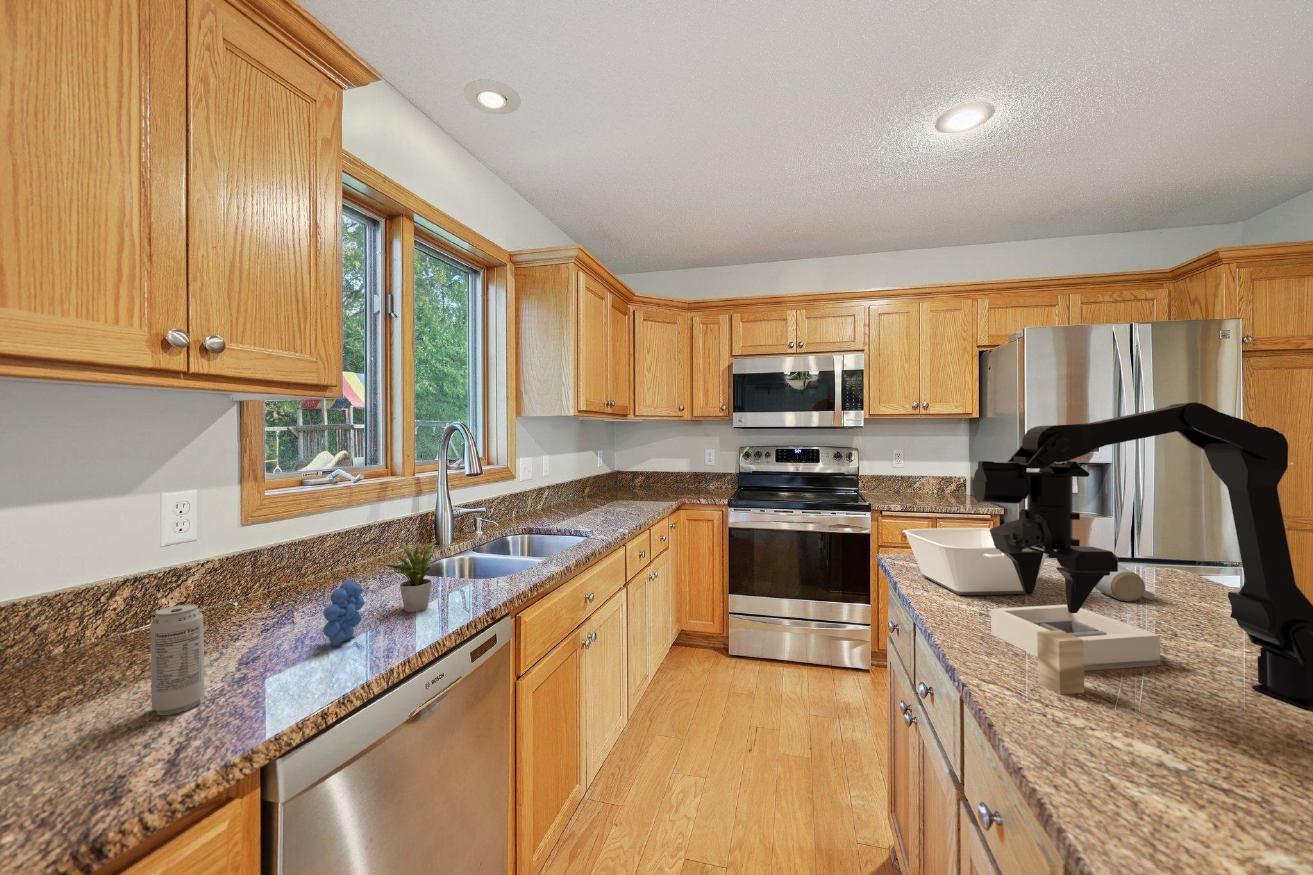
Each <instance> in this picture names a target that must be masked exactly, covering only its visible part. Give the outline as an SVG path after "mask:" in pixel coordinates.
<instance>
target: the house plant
mask: <svg viewBox="0 0 1313 875" xmlns="http://www.w3.org/2000/svg"><path fill="white" fill-rule="evenodd" d="M436 542H437V540H436V541H432V542H429V543H425V545H424V546H423V547H422V548H421V551H420V553H419V547H420V546H419V545H420V544H419V541H417V543H415V544H416V547H415V549H414V548H410V547H409V546H408V545H406V544H404V543H402V545H403V546H402V545H400V547H401V549H403V550H404V552H405V554H406V555H407V557H408V559H409V561H408V560H407V559H406V558H405V557H404V556H402V555H401V554H399V553H397V552H394V551H389V550H386V551H385V552H386V553H387V552H388V555H392V556H395V557H396V558H397V559H398V560H400V561H401V562H402V563H403V565H401V564H395V563H379V565H381V566H385V568H384V570H385V569H389V570H392V571H391V572H389V573H388V574H386V577H389V576H390V575H393V574H396V573H397V574H399V576H400V577H402V578H404V579H405V580H404V581H402V582H400V583H399V588H400V593H401V599H402V604H403V609H404V611H405V612H409V613H412V612H413V613H414V612H420V611H424V610H426V609H427V608H428V607H429V602H430V595H431V589H432V583H433V580H432V579H430V578H425V576H426V575H427V574H428V572H429V571H430V570H432V569H434V568H436V567H438V565H434V564H433V562H430V563H429V561H430V560H431V559H432V557H433V555H434V554H436V552H437V549H435V550H434V551H433V548H435V543H436ZM411 550H412V552H411ZM432 551H433V553H431V552H432ZM389 553H393V554H389ZM409 562H410V563H409ZM430 565H432V567H429V566H430ZM386 567H388V568H386ZM440 567H441V568H443V567H442V565H440ZM403 575H404V576H403Z"/></svg>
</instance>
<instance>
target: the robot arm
mask: <svg viewBox="0 0 1313 875" xmlns="http://www.w3.org/2000/svg"><path fill="white" fill-rule="evenodd" d="M1176 432H1177V433H1178V434H1179V435H1180V436H1182V437H1183V439H1185V440H1186V441H1187V442H1188V443H1190V444H1192V445H1194V446H1195V447H1197V448H1200V449H1201V450H1203V451H1204V453H1205V455H1206V458H1207V461H1208V463H1209V465H1210V468H1211V470H1212V471H1213V472H1214V474H1215V475H1216V476H1217V477H1218V478H1219V479H1220V480H1221V482H1222V483H1223V484H1224V485H1225V486H1226V488H1227V492H1228V496H1229V501H1230V506H1231V507H1230V508H1231V511H1232V512H1231V513H1232V516H1233V517H1232V518H1233V521H1234V527H1235V532H1236V537H1237V543H1238V549H1239V554H1240V559H1241V564H1242V571H1243V575H1244V583H1243V585H1242V587H1241V589H1240V590H1239V592H1235V591H1229V592H1227V598H1228V600H1229V603H1230V606H1231V612H1230V616H1229V617H1230V618H1232V619H1234V620H1236V622H1237V625H1238V626H1239V628H1240V629H1241V630H1243V631H1245V632H1246V634H1247V637H1248V639H1249V640H1250V643H1251V644H1253V645H1255V646H1259V647H1260V648H1259V649H1260V652H1259V653H1260V655H1257V656H1256V657H1257V664H1256V665H1257V682H1258V684H1252V685H1251V689H1253V690H1255V691H1257V692H1260V693H1262V694H1265V695H1267V696H1269V697H1273V698H1276V699H1278V700H1281V701H1283V702H1286V703H1288V704H1291V705H1294V706H1297V707H1299V708H1301V709H1305V710H1313V604H1312V602H1311V601H1310V600H1309V599H1308V597H1306V595H1305V593H1303V591H1302V590H1301V589H1300V588H1299V587H1298V585H1297V582H1296V580H1295V579H1296V578H1295V573H1294V568H1293V563H1292V556H1291V553H1290V547H1289V542H1288V536H1287V531H1286V526H1285V522H1284V521H1285V520H1284V516H1283V511H1282V510H1283V509H1282V505H1281V501H1280V495H1279V492H1278V491H1279V490H1278V488H1279V487H1278V486H1279V483H1280V482H1281V480H1282V478H1283V476H1284V475H1285V473H1286V471H1287V470H1288V468H1289V442H1288V440H1287V437H1286V436H1285V434H1283V433H1282V432H1279V431H1278V430H1275V429H1274V428H1272V427H1268V426H1259V425H1256V424H1255V423H1253V422H1250V421H1248V420H1245V419H1242V418H1239V417H1236V416H1234V415H1230V414H1227V413H1224V412H1221V411H1218V410H1216V409H1215V408H1212V407H1210V406H1208V405H1205V404H1203V403H1201V402H1184V403H1183V402H1182V403H1174V404H1170V405H1168V406H1166V407H1161V408H1157V409H1151V410H1146V411H1142V412H1136V413H1132V414H1127V415H1122V416H1118V417H1112V418H1109V419H1103V420H1098V421H1093V422H1089V423H1074V424H1053V425H1037V426H1036V425H1035V426H1034V427H1031V428H1029V429H1028V430H1027V431H1026V433H1025V434H1024V435H1023V437H1022V444H1021V445H1020V446H1019V448H1018V449H1016V451H1015V453H1013V454H1012V456H1011V457H1010V458H1009V460H1007V461H1006V462H1004V461H1002V462H999V461H991V460H979V461H978V462H977V468H976V469H975V472H974V477H973V479H972V481H971V484H972V485H971V486H972V493H973V497H974V499H975V502H977V503H979V504H981V503H982V504H986V503H988V504H1010V505H1011V504H1016V505H1017V504H1020V503H1021V502H1022V501H1023V500H1024V499H1025V500H1026V499H1027V508H1021V509H1020V511H1019V512H1018V514H1019V517H1018V519H1016V520H1011V521H1008V522H1004V523H1002V524H1000V525H997V526H994V527H991V528H990V530H989V531H990V533H991V536H992V539H993V542H994V546H995V547H996V549H998V550H1000V552H1002V553H1004V554H1005V555H1006V556H1007V557H1009V558H1010V559H1011V560H1012V562H1013V564H1014V567H1015V569H1016V572H1017V574H1018V577H1019V580H1020V583H1021V585H1022V588H1023V591H1024V594H1023V595H1026V596H1031V595H1033V594H1034V591H1035V587H1036V585H1037V580H1038V579H1037V577H1038V578H1039V576H1038V573H1039V569H1040V565H1041V561H1042V557H1043V553H1045V554H1047V556H1048V555H1049V556H1052V557H1055V558H1056V560H1057V563H1058V564H1059V565H1060V567H1055V568H1056V570H1057V571H1058V572H1059V573H1060V574H1061V575H1062V577H1063V579H1064V582H1065V584H1064V586H1065V597H1066V604H1067V607H1068V612H1070V613H1077V612H1078V611H1079V609H1080V608H1082V606H1083V605H1084V603H1085V602H1086V601H1087V599H1088V597H1089V596H1090V594H1091V593H1092V592H1093V590H1094V589H1095V586H1096V585H1097V584H1098V583H1099V581H1100V580H1101V579H1102V578H1103V577H1104V576H1109V575H1110V572H1118V565H1119V557H1118V556H1117V555H1116V554H1115V553H1114V552H1113V551H1111V550H1107V549H1105V548H1104V549H1103V548H1099V547H1094V546H1081V542H1080V541H1081V540H1080V539H1078V538H1075V537H1073V520H1077V521H1079V520H1081V517H1080V516H1081V514H1080V512H1075V511H1074V510H1073V507H1074V506H1073V500H1074V499H1073V498H1074V497H1073V494H1074V493H1073V486H1074V484H1073V479H1074V478H1075V477H1076V478H1081V477H1082V478H1087V477H1089V476H1090V472H1089V471H1087V470H1086V469H1085V468H1083V467H1081V466H1080V464H1079V463H1078V462H1077V461H1076V460H1075V459H1077V458H1080V457H1082V456H1085V455H1088V454H1089V453H1092V452H1093V451H1095V450H1097V449H1100V448H1103V447H1105V446H1109V445H1110V446H1111V445H1116V444H1121V443H1125V442H1131V441H1135V440H1140V439H1141V440H1142V439H1145V438H1150V437H1151V438H1152V437H1156V436H1160V435H1166V434H1171V433H1176ZM1073 460H1075V461H1073ZM1055 463H1064V464H1063V465H1062V464H1061V465H1052V464H1055ZM1028 469H1037V470H1038V471H1028ZM1044 547H1045V548H1044Z"/></svg>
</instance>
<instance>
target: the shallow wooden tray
mask: <svg viewBox="0 0 1313 875" xmlns="http://www.w3.org/2000/svg"><path fill="white" fill-rule="evenodd" d="M990 619H991V620H990V622H991V624H990V628H991V629H990V630H991V631H990V632H991V635H992V636H994V637H995V638H998V639H999V640H1001V641H1004V642H1006V643H1009V644H1010V645H1012V646H1015V647H1016V648H1019V649H1021V650H1022V651H1024V652H1026V653H1028V654H1030V655H1032V656H1034V657H1035V658H1038V653H1037V632H1040V631H1056V630H1061V631H1063V632H1066V633H1068V634H1071V635H1073V636H1075V637H1078V638H1080V639H1083V661H1084V672H1087V671H1102V670H1113V669H1114V670H1116V669H1129V668H1143V667H1157V665H1159V666H1161V640H1160V638H1161V636H1160V634H1157V633H1154V632H1151V631H1148V630H1145V629H1143V628H1140V627H1136V626H1134V625H1132V624H1128V623H1125V622H1122V621H1120V620H1116V619H1114V618H1111V617H1108V616H1105V615H1102V614H1099V613H1096V612H1093V611H1090V610H1088V609H1085V608H1082V607H1081V608H1080V609H1079V611H1078V612H1077V613H1070V612H1068V607H1067V603H1066V604H1053V605H1052V604H1050V605H1037V606H1036V605H1035V606H1020V607H1019V606H1017V607H1004V608H1003V607H1002V608H991V609H990Z"/></svg>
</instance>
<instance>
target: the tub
mask: <svg viewBox="0 0 1313 875" xmlns="http://www.w3.org/2000/svg"><path fill="white" fill-rule="evenodd" d="M990 529H991V528H989V527H945V528H943V527H941V528H935V527H934V528H913V529H912V528H911V529H906V530H904V534H905V536H906V538H907V541H908V543H909V545H910V548H911V550H912V553H913V555H914V556H913V557H914V558H915V561H916V563H917V565H918V568H919V571H920V573H921V575H922V576H923V578H925V577H926V578H925V579H927V578H928V579H927V580H929V579H930V580H931V582H932V581H933V582H932V583H934V582H935V584H936V583H937V584H936V585H938V584H939V586H940V585H941V587H942V586H943V587H942V588H944V587H945V588H944V589H946V588H947V589H946V590H949V591H950V590H951V591H950V592H952V593H954V594H957V595H958V596H960V595H977V596H1009V595H1008V594H1018V595H1025V594H1024V591H1023V588H1022V585H1021V583H1020V580H1019V577H1018V574H1017V572H1016V569H1015V567H1014V564H1013V562H1012V560H1011V559H1010V558H1009V557H1007V556H1006V555H1005V554H1004V553H1002V552H1000V550H998V549H996V547H995V546H994V542H993V539H992V536H991V533H990V531H989V530H990ZM1044 548H1045V547H1044ZM1047 556H1048V554H1045V553H1043V557H1042V561H1041V565H1040V569H1039V573H1038V577H1037V580H1038V579H1039V576H1040V573H1041V571H1042V569H1043V567H1044V564H1045V561H1046V559H1047ZM930 580H929V581H930Z"/></svg>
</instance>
